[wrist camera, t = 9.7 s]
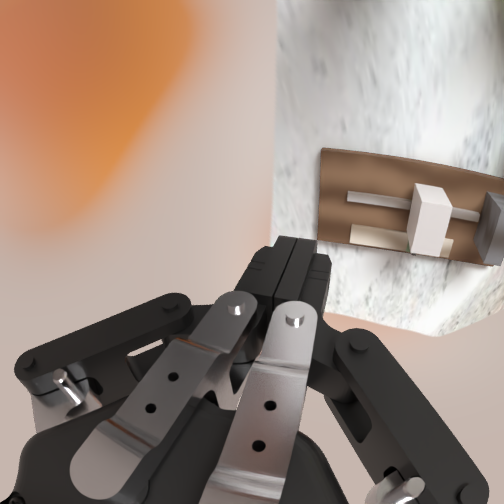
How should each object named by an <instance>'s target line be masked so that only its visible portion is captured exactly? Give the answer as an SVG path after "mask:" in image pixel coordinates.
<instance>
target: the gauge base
mask: <svg viewBox="0 0 504 504" xmlns="http://www.w3.org/2000/svg"><path fill="white" fill-rule="evenodd" d="M415 183H418V184H424V185H429V186H435V187H440V188H443V190H444V192H445V194H446V195H447V197H448V199H449V201H450V203H451V205H452V207H453V208H452V212H451V216H450V220H449V224H448V228H447V231H446V235H445V239H444V242H443V246H442V249H441V252H440V256H439V257H437V258H444V259H450V260H456V261H462V262H468V263H474V264H480V265H486V266H492V267H493V266H494V265H497V266H501V263H502V261H503V258H504V179H503V178H499V177H495V176H491V175H487V174H483V173H479V172H475V171H470V170H466V169H461V168H457V167H452V166H447V165H442V164H437V163H432V162H426V161H421V160H415V159H409V158H403V157H396V156H389V155H382V154H375V153H367V152H359V151H350V150H341V149H331V148H322V149H321V170H320V197H319V217H318V234H317V240H322V241H329V242H336V243H343V244H350V245H357V246H364V247H371V248H378V249H385V250H392V251H398V252H405V253H411V252H410V246H409V240H408V235H407V224H408V219H409V214H410V209H411V204H412V198H413V192H414V186H415ZM418 255H422V254H418ZM425 256H429V255H425ZM431 257H435V256H431Z"/></svg>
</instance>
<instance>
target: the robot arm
mask: <svg viewBox="0 0 504 504" xmlns="http://www.w3.org/2000/svg"><path fill="white" fill-rule="evenodd" d="M331 266H332V263H331V261H330V258H329V256H328V255H325V254H318V253H317V240H310V239H303V238H295V237H287V236H279V237H278V239H277V241H276V242H275V244H274V246H273V247H268V246H265V247H263V248H261V249H260V250H258V251H257V252H256V253H255V254H254V256H253V258H252V260H251V262H250V263H249V265H248V267H247V269H246V270H245V272H244V273H243V275H242V277H241V279H240V280H239V282H238V284H237V286H236V287H235V289H234V291H231V292H227V293H225V294H223V295H221V296H220V297H219V298H218V299H217V300H216V301H215V303H214V304H212V305H191V301H190V299H189V298H188V297H187V296H186V295H184V294H181V293H169V294H165V295H163V296H160V297H158V298H156V299H153V300H150V301H148V302H146V303H143V304H141V305H138V306H136V307H134V308H131V309H129V310H126V311H124V312H121V313H119V314H116V315H114V316H111V317H109V318H107V319H104V320H102V321H99V322H97V323H95V324H92V325H90V326H87V327H85V328H82V329H80V330H77V331H75V332H72V333H70V334H68V335H65V336H62V337H60V338H58V339H55V340H53V341H50V342H48V343H45V344H43V345H40V346H38V347H35V348H33V349H30V350H28V351H26V352H24V353H23V354H22V355H21V356H20V357H19V358H18V360H17V362H16V364H15V367H14V372H15V375H16V377H17V378H18V379H19V380H20V382H21V383H22V384H23V385H24V386H25V387H26V388H27V390H28V391H29V393H30V394H31V399H32V407H33V414H34V421H35V427H36V433H37V434H35V435H34V436H33V437H32V438H30V439H29V441H28V442H27V443H26V445H25V446H24V448H23V450H22V453H21V456H20V462H19V470H18V475H17V480H16V483H15V486H14V489H13V492H12V493H11V495H10V496H9V497H8V498H7V499H5V500H4V501H2V502H0V504H349V503H348V501H347V499H346V497H345V495H344V493H343V491H342V489H341V487H340V485H339V483H338V481H337V479H336V477H335V475H334V473H333V471H332V469H331V467H330V465H329V463H328V461H327V459H326V457H325V455H324V453H323V452H322V451H321V449H320V448H319V447H318V445H317V444H316V443H314V441H313V440H311V439H310V438H309V437H308V436H306V435H305V434H303V433H302V432H300V431H299V426H300V421H301V415H302V410H303V406H304V401H305V396H306V390H307V386H309V387H310V388H312V389H314V390H316V391H318V392H320V393H322V394H324V399H325V401H326V403H327V405H328V406H329V408H330V410H331V411H332V413H333V415H334V416H335V418H336V420H337V421H338V423H339V425H340V427H341V428H342V430H343V432H344V433H345V435H346V437H347V438H348V440H349V442H350V443H351V445H352V447H353V448H354V450H355V452H356V453H357V455H358V457H359V458H360V460H361V462H362V463H363V465H364V467H365V468H366V470H367V472H368V473H369V475H370V476H371V478H372V480H373V481H374V483H375V486H374V487H373V488H372V489H371V490H370V491H369V493H368V494H367V497H366V500H365V504H487V502H488V498H489V486H488V483H487V481H486V479H485V478H484V476H483V475H482V474H481V472H480V471H479V469H478V468H477V466H476V465H475V464H474V462H473V461H472V459H471V458H470V457H469V455H468V454H467V452H466V451H465V450H464V448H463V447H462V446H461V444H460V443H459V442H458V440H457V439H456V437H455V436H454V435H453V433H452V432H451V431H450V429H449V428H448V426H447V425H446V424H445V423H444V421H443V420H442V419H441V417H440V416H439V414H438V413H437V412H436V411H435V409H434V408H433V407H432V405H431V404H430V403H429V401H428V400H427V399H426V398H425V396H424V395H423V394H422V392H421V391H420V390H419V388H418V387H417V386H416V385H415V384H414V382H413V381H412V380H411V378H410V377H409V376H408V374H407V373H406V372H405V371H404V369H403V368H402V367H401V366H400V365H399V363H398V362H397V361H396V359H395V358H394V357H393V356H392V354H391V353H390V352H389V351H388V349H387V348H386V347H385V346H384V345H383V343H382V342H381V341H380V340H379V338H378V337H377V336H376V335H375V334H373V333H372V332H370V331H368V330H365V329H359V328H354V329H349V330H346V331H344V332H342V333H341V332H339V331H337V330H335V329H333V328H331V327H330V326H329V325H328V324H327V323H326V322H325V321H324V320H323V314H324V309H325V305H326V301H327V296H328V290H329V283H330V275H331ZM160 339H162V342H163V344H161V345H159V346H156V347H154V348H152V349H150V350H147V351H145V352H143V353H140V354H138V355H136V356H127V354H129V353H130V352H132V351H135V350H137V349H139V348H141V347H144V346H146V345H148V344H151V343H153V342H155V341H158V340H160ZM261 350H262V351H261ZM260 352H261V354H260ZM241 395H242V396H241ZM240 396H241V399H240V402H239V405H238V408H237V404H238V401H239V398H240ZM236 408H237V410H236Z"/></svg>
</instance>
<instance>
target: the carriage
mask: <svg viewBox="0 0 504 504" xmlns="http://www.w3.org/2000/svg"><path fill="white" fill-rule="evenodd" d="M452 208H453V207H452V205H451V203H450V201H449V199H448V197H447V195H446V194H445V192H444V190H443V188H440V187H435V186H429V185H424V184H418V183H415V186H414V192H413V198H412V204H411V209H410V214H409V219H408V224H407V235H408V240H409V246H410V252H411V253H412V255H415V256H416V254H422V255H429V256H435V257H439V256H440V252H441V249H442V246H443V242H444V239H445V235H446V231H447V228H448V224H449V220H450V216H451V212H452Z"/></svg>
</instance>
